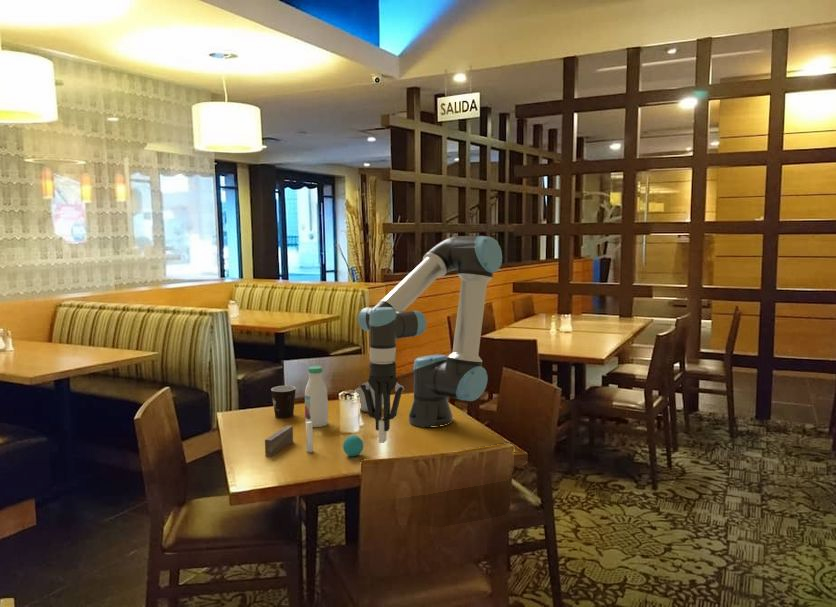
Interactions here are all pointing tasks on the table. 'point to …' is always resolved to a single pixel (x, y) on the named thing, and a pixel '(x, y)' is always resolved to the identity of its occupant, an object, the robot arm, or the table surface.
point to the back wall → (278, 441)
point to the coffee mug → (283, 401)
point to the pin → (309, 437)
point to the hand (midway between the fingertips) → (382, 441)
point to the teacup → (363, 400)
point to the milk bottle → (316, 398)
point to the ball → (353, 445)
